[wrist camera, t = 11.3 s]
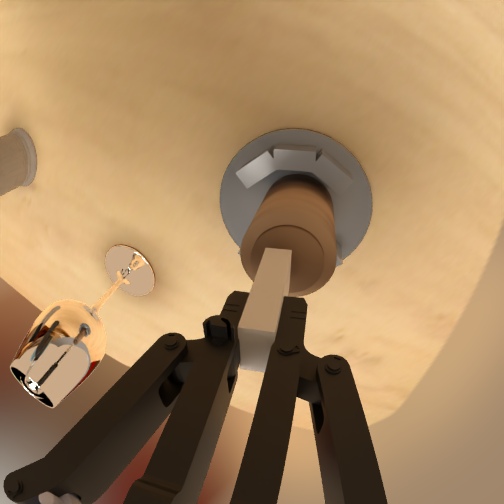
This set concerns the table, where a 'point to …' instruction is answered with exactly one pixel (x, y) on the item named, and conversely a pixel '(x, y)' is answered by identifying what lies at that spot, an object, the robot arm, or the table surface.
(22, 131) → the glass holder
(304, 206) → the stopper
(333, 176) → the grey round base
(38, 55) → the table surface
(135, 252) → the wineglass
